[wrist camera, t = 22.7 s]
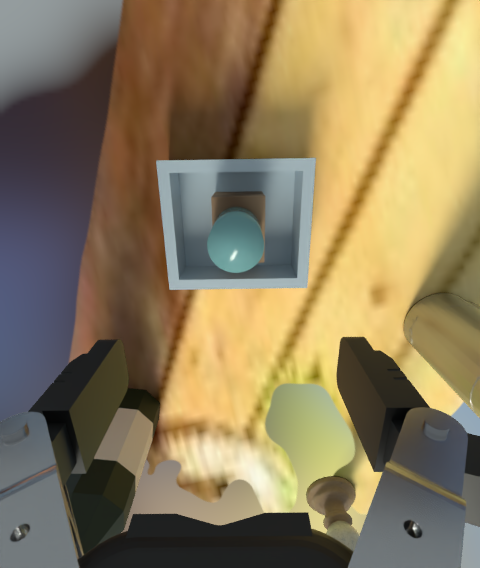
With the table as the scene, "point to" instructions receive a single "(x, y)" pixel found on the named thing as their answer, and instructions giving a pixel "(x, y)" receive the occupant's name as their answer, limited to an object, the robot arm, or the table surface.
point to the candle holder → (334, 507)
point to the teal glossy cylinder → (236, 240)
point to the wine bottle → (114, 471)
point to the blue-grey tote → (198, 220)
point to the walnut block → (241, 199)
